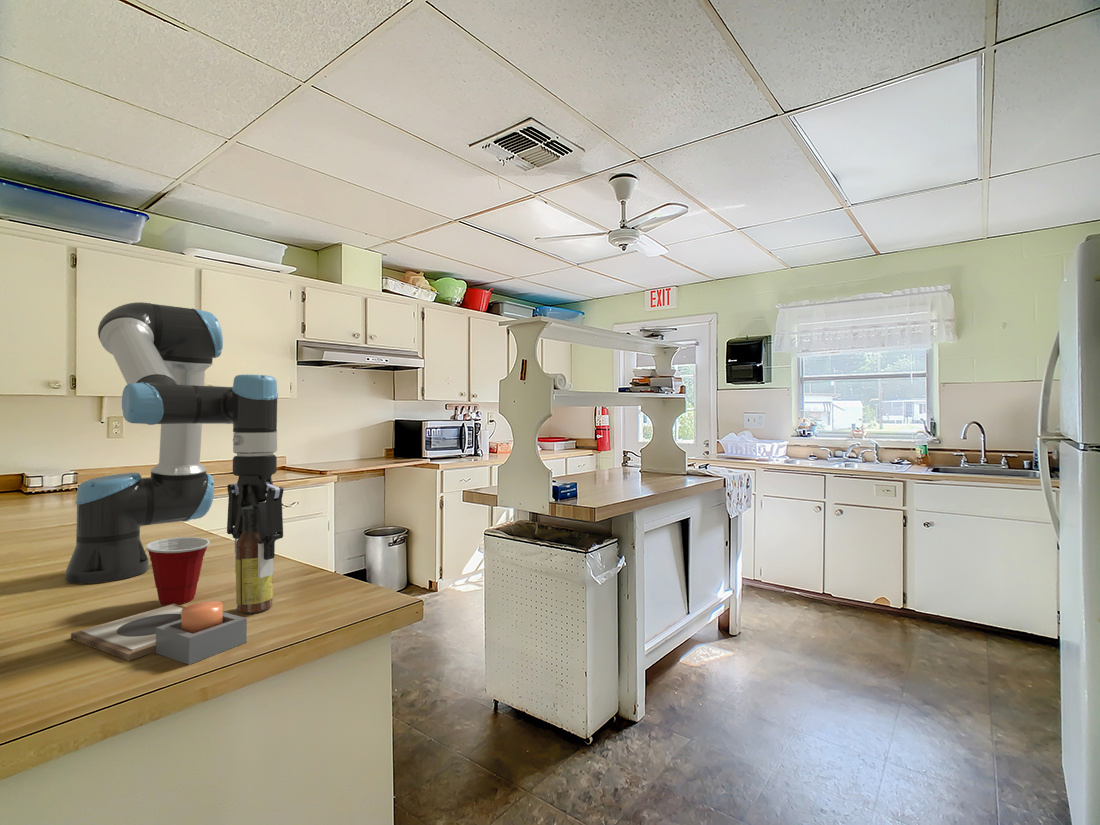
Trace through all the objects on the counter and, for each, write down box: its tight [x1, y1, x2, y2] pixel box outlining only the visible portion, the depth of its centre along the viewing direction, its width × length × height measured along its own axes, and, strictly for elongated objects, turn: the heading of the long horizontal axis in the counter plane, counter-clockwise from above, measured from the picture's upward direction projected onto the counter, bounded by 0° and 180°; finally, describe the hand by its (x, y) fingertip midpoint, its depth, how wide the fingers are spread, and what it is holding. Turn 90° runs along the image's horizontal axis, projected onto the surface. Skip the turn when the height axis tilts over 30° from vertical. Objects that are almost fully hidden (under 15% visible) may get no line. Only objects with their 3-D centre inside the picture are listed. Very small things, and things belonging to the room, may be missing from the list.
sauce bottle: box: [235, 506, 274, 614], centre depth 104 cm, size 7×6×20 cm
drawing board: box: [70, 604, 185, 662], centre depth 93 cm, size 18×16×1 cm
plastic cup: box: [145, 536, 211, 606], centre depth 109 cm, size 11×11×12 cm
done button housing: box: [155, 611, 248, 665], centre depth 87 cm, size 9×9×4 cm
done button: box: [181, 600, 224, 634], centre depth 87 cm, size 6×6×4 cm
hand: (254, 573), depth 104 cm, fingers closed on sauce bottle, 6 cm apart
